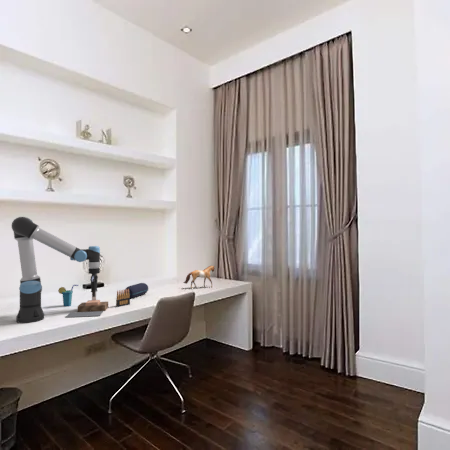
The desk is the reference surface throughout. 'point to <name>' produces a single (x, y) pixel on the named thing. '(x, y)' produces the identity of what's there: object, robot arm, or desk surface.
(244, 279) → the desk surface
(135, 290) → the portable speaker
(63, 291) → the cup
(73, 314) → the mat
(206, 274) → the horse figurine
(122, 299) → the ammunition clip
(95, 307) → the deck
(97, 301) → the coaster
